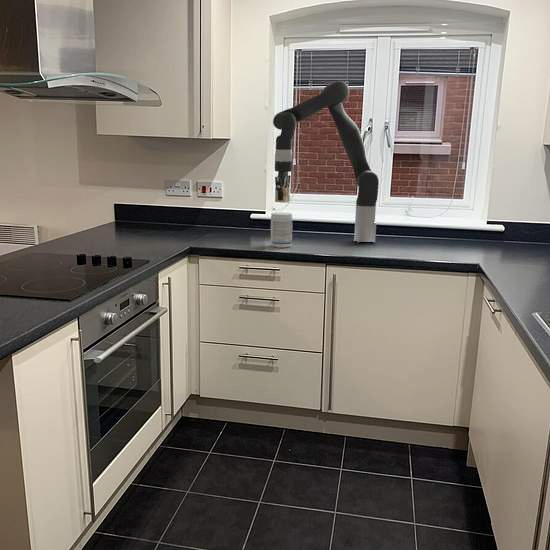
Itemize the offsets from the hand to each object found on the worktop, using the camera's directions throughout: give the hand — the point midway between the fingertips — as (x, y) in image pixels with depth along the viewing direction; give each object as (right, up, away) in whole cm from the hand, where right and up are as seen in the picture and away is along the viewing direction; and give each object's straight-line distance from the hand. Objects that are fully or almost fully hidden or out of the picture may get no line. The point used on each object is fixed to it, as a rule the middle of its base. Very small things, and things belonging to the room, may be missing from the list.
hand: (282, 199), depth 257 cm
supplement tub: (-1, -21, +5) cm, 21 cm away
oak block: (0, -1, 0) cm, 1 cm away
